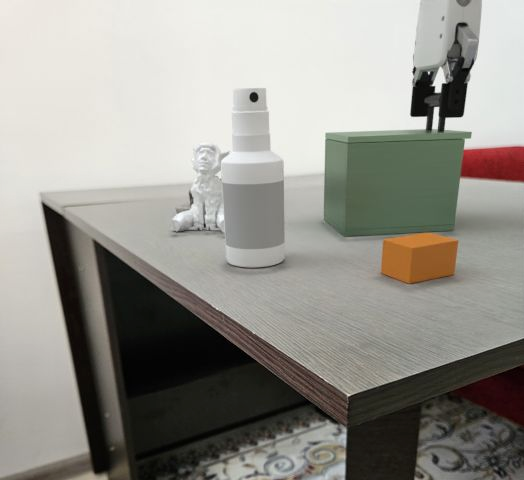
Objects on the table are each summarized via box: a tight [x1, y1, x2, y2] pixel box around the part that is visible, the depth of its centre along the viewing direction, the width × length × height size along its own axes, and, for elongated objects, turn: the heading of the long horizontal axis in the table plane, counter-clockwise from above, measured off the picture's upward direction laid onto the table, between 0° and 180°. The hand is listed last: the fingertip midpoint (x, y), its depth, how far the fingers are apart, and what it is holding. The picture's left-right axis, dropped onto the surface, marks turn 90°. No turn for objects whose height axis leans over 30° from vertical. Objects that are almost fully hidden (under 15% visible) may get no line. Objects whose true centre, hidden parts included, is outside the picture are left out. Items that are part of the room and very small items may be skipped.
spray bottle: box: [220, 87, 286, 269], centre depth 57 cm, size 7×7×18 cm
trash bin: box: [323, 138, 466, 237], centre depth 75 cm, size 16×13×12 cm
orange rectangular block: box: [380, 232, 459, 285], centre depth 54 cm, size 6×4×4 cm
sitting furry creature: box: [168, 141, 231, 234], centre depth 77 cm, size 10×9×12 cm
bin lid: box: [324, 91, 473, 143], centre depth 71 cm, size 16×13×6 cm
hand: (435, 117), depth 72 cm, fingers open, 9 cm apart
